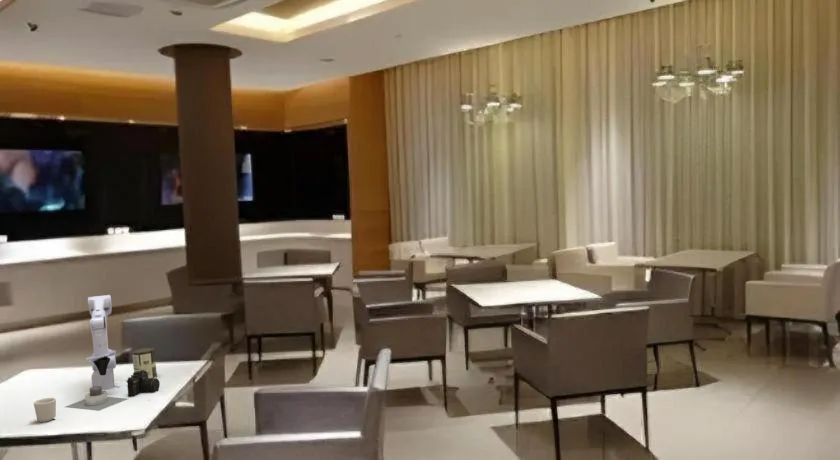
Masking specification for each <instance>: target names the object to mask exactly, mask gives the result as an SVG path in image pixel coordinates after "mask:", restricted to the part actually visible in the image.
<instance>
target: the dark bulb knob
mask: <svg viewBox="0 0 840 460" xmlns="http://www.w3.org/2000/svg"><path fill="white" fill-rule="evenodd" d="M102 391H103V390H102V387H101V386H96V387H92V386H91V387H89V393H90V395H99V394H101V393H102Z"/></svg>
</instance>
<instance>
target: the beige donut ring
mask: <svg viewBox="0 0 840 460" xmlns="http://www.w3.org/2000/svg"><path fill="white" fill-rule="evenodd" d="M107 397H108V392H107V390H102V393H101V394H99V395H90V392H89V393H86V394H85V395H84V399H85V401H86V405H87V406H97V405H101V404H104V403H106V402H107V401H108V400H107Z"/></svg>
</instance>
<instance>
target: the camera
mask: <svg viewBox="0 0 840 460" xmlns="http://www.w3.org/2000/svg"><path fill="white" fill-rule="evenodd" d="M126 380H127V381H126V382H127V386H126V387H127V396H128V397H129V398H133V397H136V396H138V395H139V394H145V393H156V392H158V391H159V389H160V387H161V385H160V384H161V383H160V380H159V379H158V378H152V379H151V378H148V373H147V372H146V371H145V370H141V371H136V372H134V371H133V373H132V374H131V375H130V377H128V378H127V379H126Z"/></svg>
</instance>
